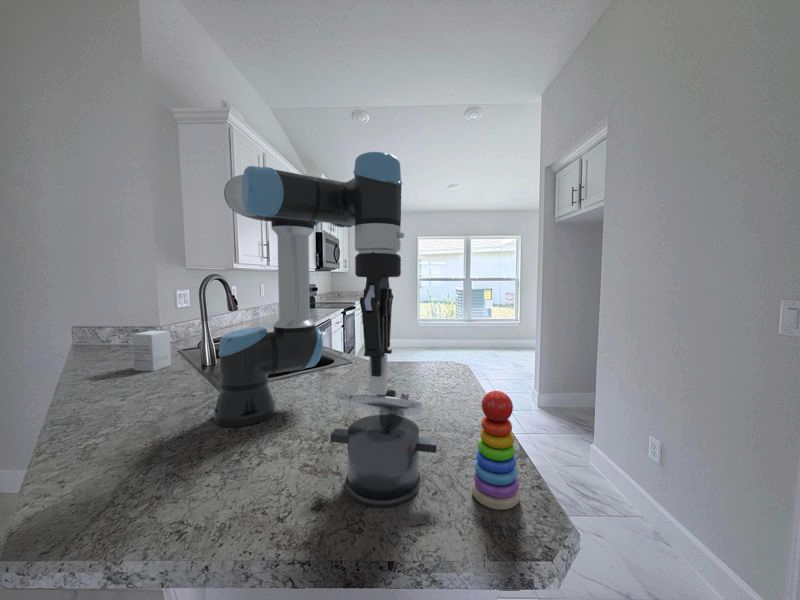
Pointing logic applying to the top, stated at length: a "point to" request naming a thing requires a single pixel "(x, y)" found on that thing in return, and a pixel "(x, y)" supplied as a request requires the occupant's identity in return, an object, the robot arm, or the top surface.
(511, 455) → the stacking toy
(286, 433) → the top surface
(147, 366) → the supplement box
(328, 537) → the top surface
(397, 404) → the lid
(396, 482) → the pot
